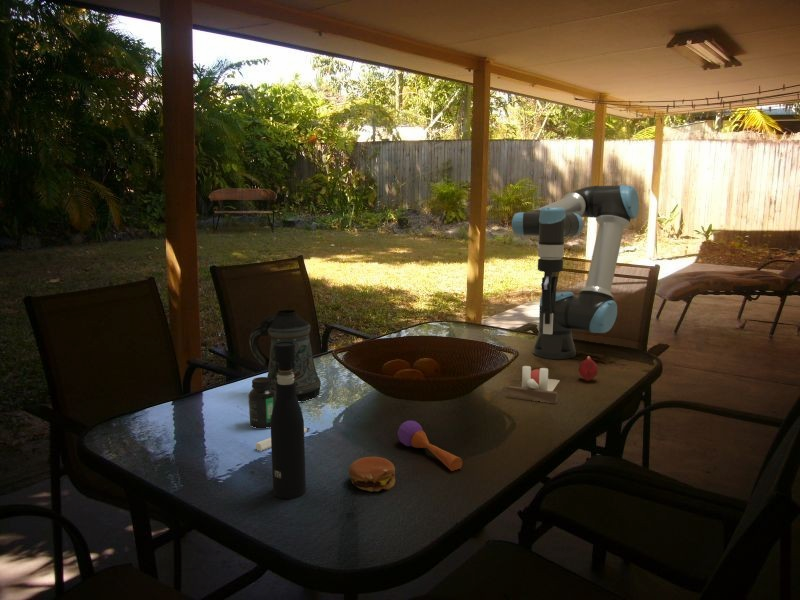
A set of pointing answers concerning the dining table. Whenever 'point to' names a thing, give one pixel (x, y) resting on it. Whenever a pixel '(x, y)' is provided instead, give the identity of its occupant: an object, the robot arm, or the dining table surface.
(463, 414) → the dining table surface
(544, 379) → the back pin left
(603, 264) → the robot arm
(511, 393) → the backstop
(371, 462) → the burger
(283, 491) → the black water bottle
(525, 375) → the back pin right
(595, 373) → the onion
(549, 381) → the cream flat rectangular slab
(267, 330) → the beer stein
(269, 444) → the marker
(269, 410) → the supplement bottle
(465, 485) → the dining table surface
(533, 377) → the ball
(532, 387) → the front pin
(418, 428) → the maraca
